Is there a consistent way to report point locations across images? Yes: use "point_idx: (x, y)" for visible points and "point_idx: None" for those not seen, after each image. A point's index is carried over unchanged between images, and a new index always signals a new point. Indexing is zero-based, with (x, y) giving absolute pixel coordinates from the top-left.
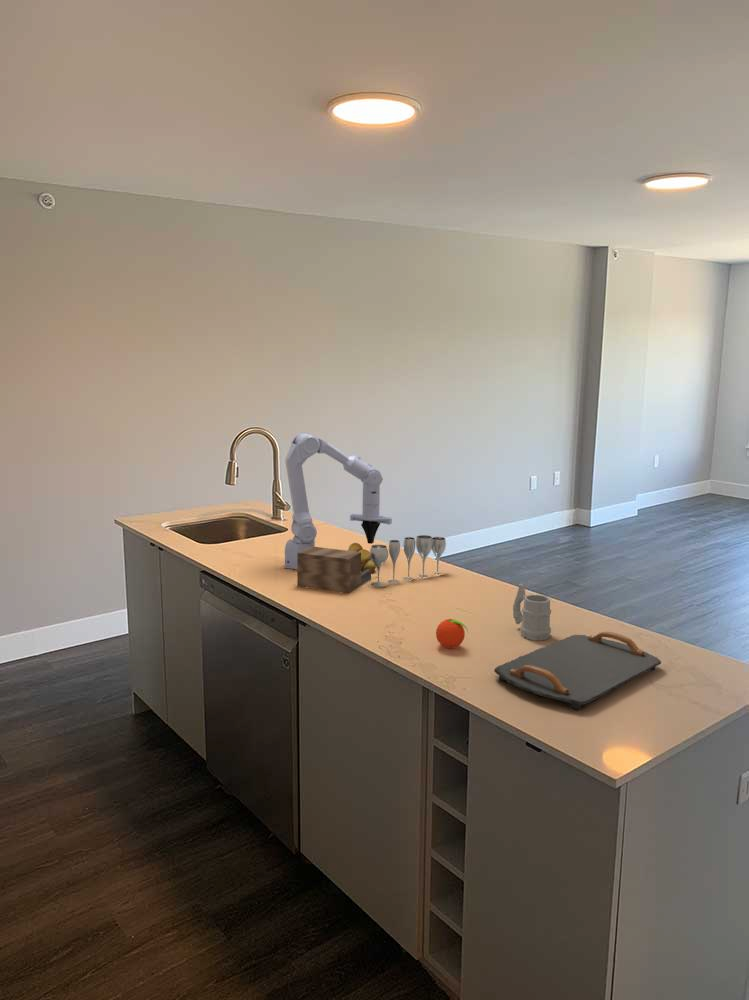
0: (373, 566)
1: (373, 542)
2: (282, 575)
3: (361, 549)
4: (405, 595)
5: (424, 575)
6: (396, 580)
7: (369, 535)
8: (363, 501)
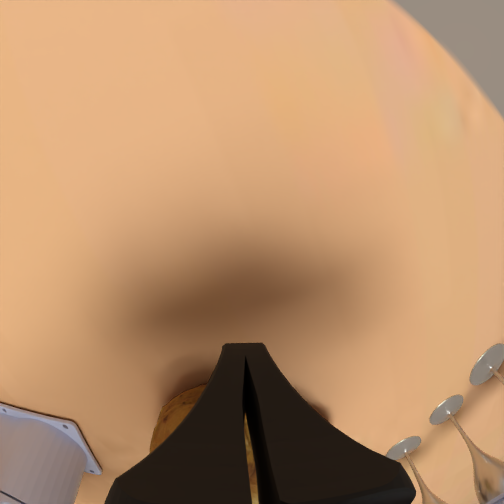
0: None
1: (265, 347)
2: (82, 493)
3: (250, 477)
4: (427, 481)
5: (493, 367)
6: (412, 445)
7: (255, 458)
8: None
